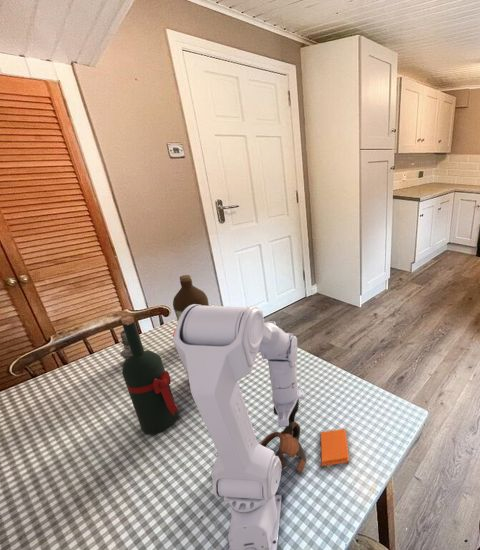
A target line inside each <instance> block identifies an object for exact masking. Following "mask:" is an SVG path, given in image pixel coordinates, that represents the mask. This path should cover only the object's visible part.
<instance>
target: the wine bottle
mask: <svg viewBox="0 0 480 550" xmlns="http://www.w3.org/2000/svg"><path fill="white" fill-rule="evenodd" d="M120 321H121V324H122V328H123V329H124V330H123V331H125V334H126V337H127V340H128V343H129V346H130V349H131V352H132V355H131V356H130V357H129V358H128V359H125V360H126V361H124V362H123V365H122V370H121V373H122V377H123V379H124V383H125V386H126V388H127V391H128V394H129V397H130V400H131V403H132V405H133V409H134V411H135V414H136V417H137V421H138V423H139V426H140V429H141V431H142V432H143V433H144V434H146V436H147V435H154V436H155V435H158V434H160V433H163V432H166V431H167V430H168V429H170V428H171V427H173V426H174V425H175V424H176V422H177V421H178V419H179V412H180V409H179V408H178V406H177V404H176V401H175V399H174V395H173V392H172V389H171V386H170V385H171V384H172V383H171V382H172V379H171V376H170V372H169V371H167V370H166V369H165V366H164V362H163V359H162V357H161V355H160V354H158V353H156V352H154V351H152V350H145V348H144V346H143V342H142V339H141V337H140V334H139V333H140V332H139V330H138V327H137V324H136V321H135V317H134V316H130V315H127V316H124V317H123V318H121V319H120Z"/></svg>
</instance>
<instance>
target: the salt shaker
mask: <svg viewBox="0 0 480 550" xmlns="http://www.w3.org/2000/svg"><path fill="white" fill-rule="evenodd" d="M119 336H120V338H121V342H120V343H121V344H122V345H123V350H122V351H121V352H120V356H122V358H124V359H125V361H126V359H128V358H129V357H130V356H131V355H132V352H131V349H130V346H129V343H128V340H127V337H126V334H125V331H124V328H123V330H122V331H120V333H119ZM125 361H124V362H125Z"/></svg>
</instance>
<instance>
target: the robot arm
mask: <svg viewBox="0 0 480 550" xmlns="http://www.w3.org/2000/svg"><path fill="white" fill-rule="evenodd" d="M276 324H277V323H276V321H274V320H267V321H266V322H265V318H264V311H263V310H261V309H260V308H259V307H258V306H255V305H251V306H225V305H224V306H223V305H209V306H202V305H199V304H193V305H190V306H188V307H187V308H186V309H185V310H184V311H183V312H182V314H181V316H180V317H179V320H177V324H176V327H175V329H176V330H175V329H174V331H175V334H174V337H173V338H172V342H173V345H174V347H175V350H176V352H177V354H178V356H179V359H180V358H181V359H180V362H181V361H182V362H181V364H182V363H183V365H184V367H183V369H184V368H185V369H184V371H185V370H186V371H187V372H188V374H187V377H188V382H189V388H190V393H191V396H192V398H193V401H194V404H195V406H196V407H197V410H198V412H199V414H200V416H201V419H202V421H203V424H204V426H205V428H206V430H207V432H208V434H209V437H210V439H211V441H212V443H213V445H214V447H215V450H216V452H217V454H218V455H217V456H216V458H215V461H214V463H213V466H212V468H211V471H210V477H211V479H212V480H211V481H212V482H211V488H212V492H213V495H214V497H215V498H222V497H223V501H224V503H227V504H229V508H230V526H229V530H228V535H227V540H228V545H229V547H228V550H278V541H279V531H280V530H279V529H280V520H281V510H282V509H281V507H282V498H283V497H282V495H281V494H276V493H277V492H278V488H279V486H280V482H281V476H282V469H281V461H280V459H279V457H278V456H275V454H276V452H275V451H274V450H272V449H270V448H269V447H267V446H266V447H264V446H262V445H261V443H258V441H257V437H256V434H255V431H254V428H253V425H252V422H251V418H250V416H249V412H248V408H247V405H246V403H245V399H244V396H243V393H242V391H241V387H240V385H239V381H240V380H241V379H244V378H245V377H247V376H249V375H251V373H252V371H253V366H254V365H255V363H256V359H257V357H258V353H260V354H261V355H260V356H261V358H262V360H267V364H268V371H269V378H270V386H271V392H272V398H271V399H272V403H273V413H274V415H276V416H277V421H278V422H277V423H278V428H283V427H284V428H286V426H289V423H290V422H295V420H296V418H295V417H296V415H297V412H298V410H299V406H300V400H302V399H304V395H305V394H304V390H302V389H299V385H298V377H297V366H296V364H297V363H296V362H297V359H298V353H297V352H298V338H297V336H296V335H294V334H293V333H292V332H291V333H290V332H285V331H284V330H283V329H282V328H281V327H279V326H278V325H276ZM183 365H182V366H183ZM186 371H185V372H186Z"/></svg>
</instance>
